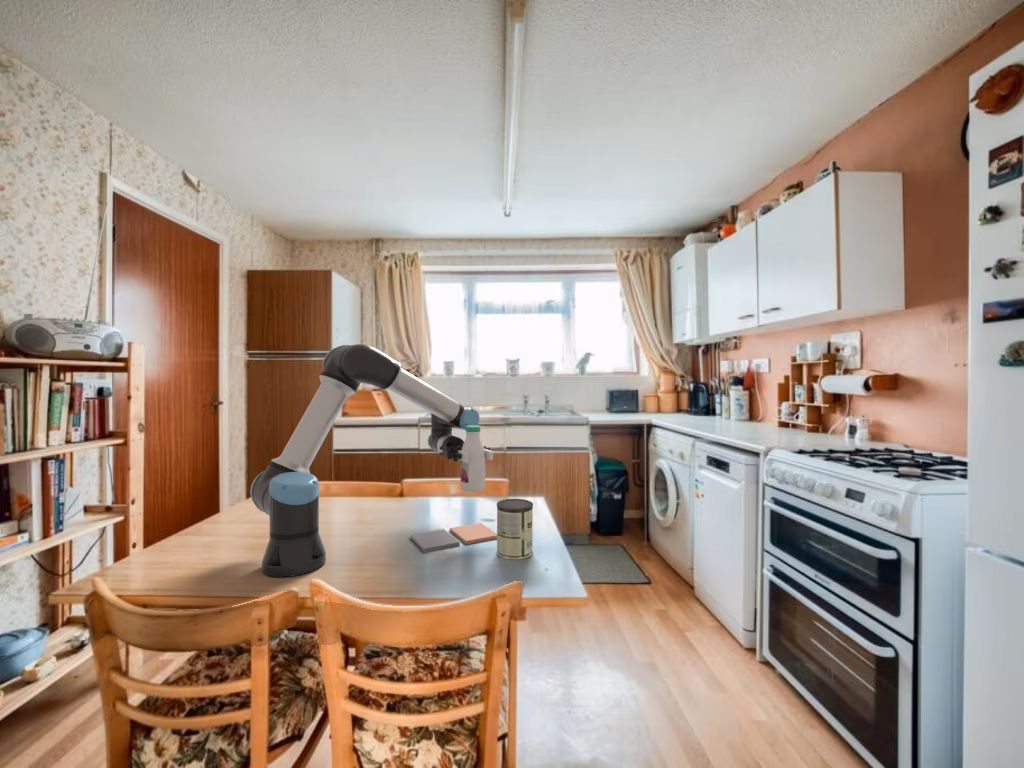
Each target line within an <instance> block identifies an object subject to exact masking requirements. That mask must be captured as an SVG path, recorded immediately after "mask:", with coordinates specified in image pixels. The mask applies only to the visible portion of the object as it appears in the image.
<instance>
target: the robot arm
mask: <svg viewBox="0 0 1024 768" xmlns="http://www.w3.org/2000/svg"><path fill="white" fill-rule="evenodd" d="M322 368H323V369H322V371H321V373H320V374H319V376H318V379H319V381H320V385H319V386H318V389H316V390H317V391H316V392H315V394H314V396H313V397H312V399H311V401H310V402H309V404H308V405H307V408H306V410H305V411H304V413H303V415H302V417H301V418H300V420H299V422H298V424H297V425H296V427H295V429H294V431H293V433H292V434H291V436H290V438H289V440H288V442H287V444H286V445H285V447H284V448H283V450H282V452H281V454H280V455H279V456H278V457H275V458H272V459H271V460H270V462H269V464H268V465H267V467H266V469H265V470H264V471H262V472H260V473H259V474H258V475H257V476H256V477H254V479H253V481H252V483H251V486H250V492H249V493H250V498H251V501H252V502H253V504H254V505H255V507H256V508H257V509H258V510H259V511H261V512H262V513H265V514H266V515H268V516H269V541H268V543H267V546H266V549H265V553H264V555H263V557H262V560H261V561H262V562H261V571H262V573H263V574H264V575H265V576H267V577H269V576H270V577H273V578H274V577H276V578H285V577H284V576H290V577H293V576H292V575H297V576H299V575H298V574H301V575H304V574H303V573H305V574H308V573H311V572H314V571H316V570H318V569H320V568H321V567H323V566H324V565H325V564H326V562H325V561H327V558H326V557H327V554H326V553H327V552H326V549H325V547H324V544H323V541H322V538H321V535H320V532H319V531H320V529H319V527H320V526H319V524H320V523H319V522H320V521H319V520H320V519H319V518H320V517H319V516H320V486H319V480H318V478H317V476H315V475H314V474H312V473H311V471H310V466H311V465H312V463H313V461H314V460H315V458H316V455H317V454H318V452H319V450H320V449H321V446H322V445H323V443H324V441H325V439H326V437H327V436H328V434H329V432H330V430H331V428H332V426H333V424H334V423H335V421H336V419H337V417H338V415H339V413H340V411H341V410H342V409H343V408H342V407H343V406H344V404H345V402H346V400H347V399H348V397H350V396H353V395H356V393H357V391H358V389H359V387H360V385H361V384H367V385H371V386H375V387H376V388H378V389H380V390H382V391H387V390H389V391H391V392H393V393H394V394H396V395H398V396H400V397H401V398H404V399H405V400H407V401H409V402H411V403H412V404H414V405H416V406H418V407H420V408H421V409H423V410H424V411H425V410H426V411H427V412H428V413H430V416H431V417H430V423H431V425H430V426H431V428H430V434H429V435H428V438H427V445H428V448H429V449H430V450H432V451H433V452H435V453H437V454H439V455H441V456H443V457H444V458H446V459H447V460H451V459H452V460H453V462H458V460H459V461H460V462H461V461H463V462H466V463H469V454H468V453H466V452H463V451H461V450H462V447H463V444H464V442H465V440H463V439H462V438H461V437H458V436H455V435H452V434H453V429H458V430H464V431H466V426H472V425H475V426H479V422H480V414H479V412H478V411H477V410H476V408H472V407H467V406H464V405H463V404H461V403H459V402H457V401H456V400H455V399H453V398H451V397H449V396H448V395H446V394H444V392H443V393H442V392H441V391H440V390H437V389H436V388H435V387H433V386H431V385H429V384H428V383H426V382H424V381H423V380H422V379H420V378H418V377H417V376H415V375H413V374H412V373H410V372H409V371H407V370H405V369H404V368H402V366H401V363H400V362H399V361H397V360H395V359H394V358H392V357H391V356H388V355H387V353H384V352H382V351H381V350H379V349H378V348H375V347H373V346H371V345H368V344H364V343H359V344H352V345H350V344H343V345H339V346H336V347H334V348H332V349H330V350H329V351H328V352H327V353H326V355H325V356H324V359H323V362H322ZM483 446H484V450H485V460H489V461H494V451H492V450H491V447H490V446H486V445H483ZM323 564H324V565H323ZM322 565H323V566H322ZM319 567H320V568H319ZM317 568H318V569H317ZM315 569H316V570H315ZM313 570H314V571H313ZM310 571H311V572H310ZM307 572H308V573H307Z"/></svg>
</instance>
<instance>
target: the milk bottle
mask: <svg viewBox="0 0 1024 768" xmlns="http://www.w3.org/2000/svg"><path fill="white" fill-rule="evenodd" d="M480 434H481V426H480V425H477V426H475V425H472V426H466V430H465V435H466V437H465V440H464V444H463V447H462V450H461V451H463V452H466V453H468V454H469V463H466V462H463V461H461V460H460V489H461V491H463V492H468V493H470V492H471V493H476V492H481V491H484V490H486V458H485V450H484V446H485V445H483V442H482V440H481V436H480Z"/></svg>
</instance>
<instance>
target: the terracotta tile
mask: <svg viewBox="0 0 1024 768" xmlns="http://www.w3.org/2000/svg"><path fill="white" fill-rule="evenodd" d="M449 533H450V534H453V535H454V536H455V537H456V538H457V539H459V540H460V541H461V542H462V543H464V544H465V545H469V544H476V543H481V542H485V541H490V540H497V532H495V531H494V530H492V529H491V528H489V527H487V526H486V525H484V524H483V523H482V522H478V523H473V524H467V525H461V526H454V527H449Z"/></svg>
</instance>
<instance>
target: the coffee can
mask: <svg viewBox="0 0 1024 768" xmlns="http://www.w3.org/2000/svg"><path fill="white" fill-rule="evenodd" d="M533 508H534V502H532V501H530V500H528V499H523V498H509V499H508V498H505V499H503V500H499V501H497V503H496V533H497V539H496V540H497V541H496V555H497V556H499V557H500V558H501V559H504V560H505V559H506V560H512V561H513V560H514V561H515V560H516V561H517V560H525V559H528V558H529V557H531V556H532V555H533V554H534V553H533V539H534V538H533V533H534V532H533V524H534V523H533V522H534V521H533V518H534V514H533Z"/></svg>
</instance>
